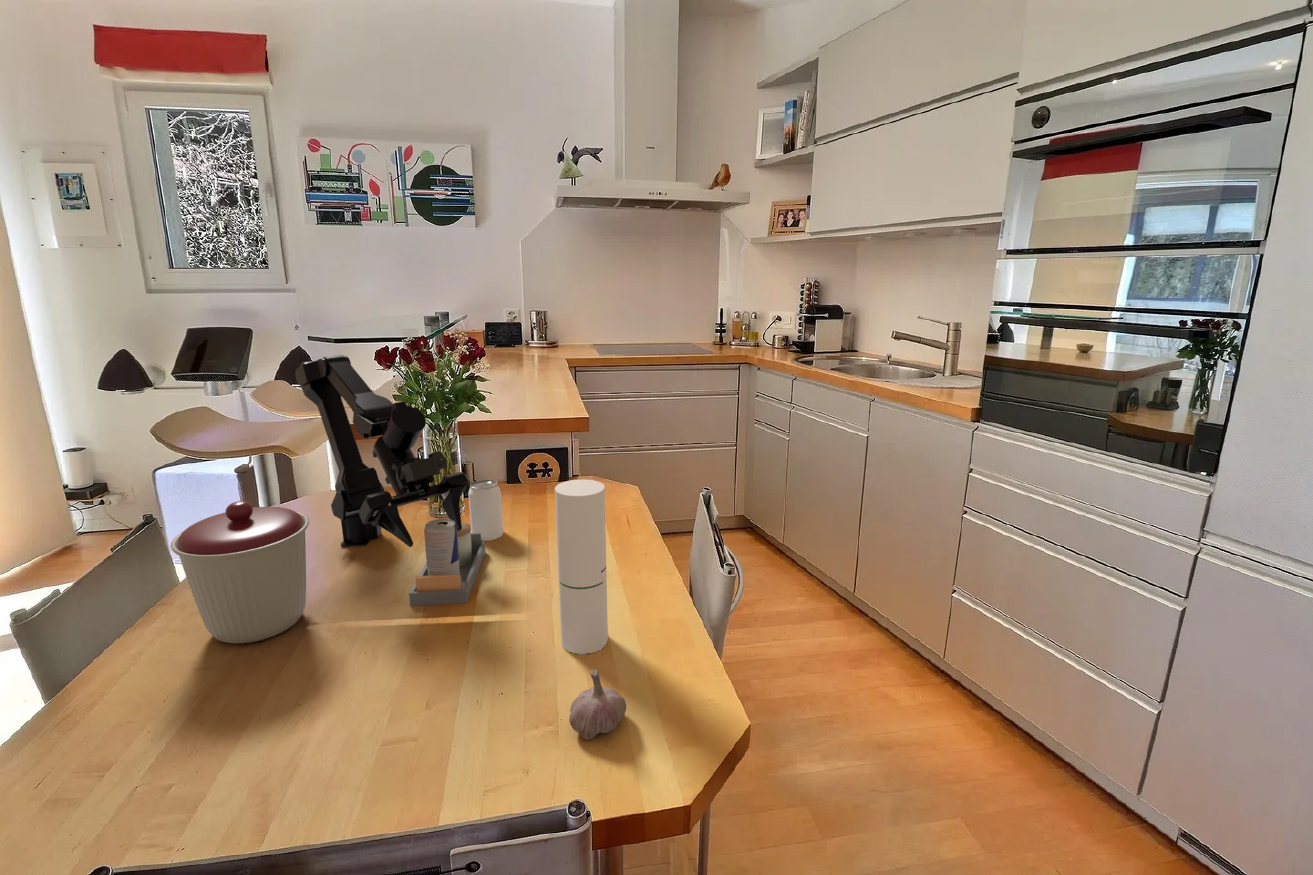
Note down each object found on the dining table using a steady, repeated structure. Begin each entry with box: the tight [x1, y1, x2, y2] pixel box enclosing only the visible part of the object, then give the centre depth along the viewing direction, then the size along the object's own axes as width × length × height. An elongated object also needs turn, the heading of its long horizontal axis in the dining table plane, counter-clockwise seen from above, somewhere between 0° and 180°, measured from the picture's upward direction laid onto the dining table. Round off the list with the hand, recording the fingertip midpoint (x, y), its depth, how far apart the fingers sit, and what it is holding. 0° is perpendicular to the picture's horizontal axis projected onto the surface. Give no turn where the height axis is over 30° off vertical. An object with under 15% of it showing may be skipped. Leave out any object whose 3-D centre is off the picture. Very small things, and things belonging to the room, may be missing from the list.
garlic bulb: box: [569, 669, 627, 741], centre depth 82 cm, size 8×7×8 cm
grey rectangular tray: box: [408, 533, 486, 607], centre depth 120 cm, size 9×20×5 cm, turn 5°
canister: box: [170, 500, 310, 645], centre depth 103 cm, size 18×18×21 cm
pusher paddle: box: [415, 575, 462, 592], centre depth 111 cm, size 7×1×4 cm, turn 95°
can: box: [468, 479, 504, 542], centre depth 137 cm, size 6×6×12 cm
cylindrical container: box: [554, 479, 609, 655], centre depth 98 cm, size 7×7×25 cm
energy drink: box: [423, 518, 460, 576], centre depth 114 cm, size 5×5×12 cm
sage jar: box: [457, 521, 473, 568], centre depth 125 cm, size 6×6×7 cm
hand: (436, 537), depth 114 cm, fingers open, 9 cm apart
